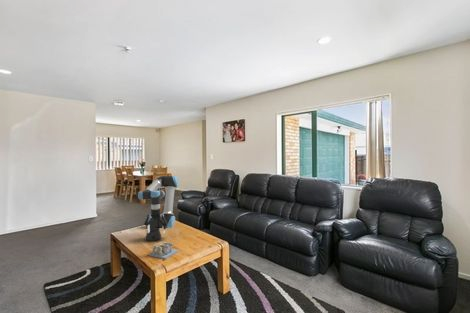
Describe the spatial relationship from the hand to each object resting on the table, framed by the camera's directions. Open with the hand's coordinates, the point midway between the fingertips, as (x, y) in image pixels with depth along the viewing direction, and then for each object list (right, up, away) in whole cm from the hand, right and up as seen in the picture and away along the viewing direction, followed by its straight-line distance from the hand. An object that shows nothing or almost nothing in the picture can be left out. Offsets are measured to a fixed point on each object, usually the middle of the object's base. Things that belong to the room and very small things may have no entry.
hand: (156, 232), depth 198 cm
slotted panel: (+5, -15, -3) cm, 16 cm away
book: (-17, -16, +71) cm, 74 cm away
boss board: (+8, -16, -4) cm, 18 cm away
